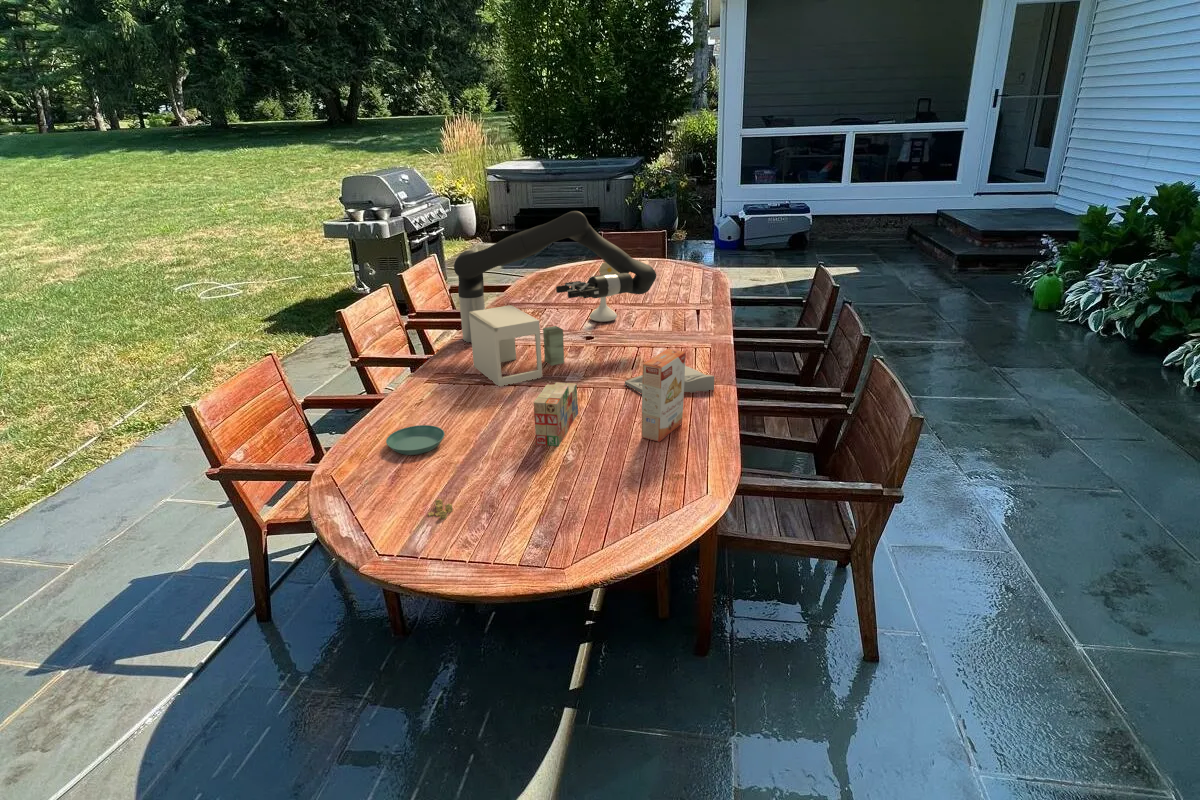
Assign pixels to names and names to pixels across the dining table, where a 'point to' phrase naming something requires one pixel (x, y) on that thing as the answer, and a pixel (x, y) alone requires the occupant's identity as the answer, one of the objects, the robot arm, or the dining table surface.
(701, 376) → the ramp
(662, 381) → the cracker box
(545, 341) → the sage block
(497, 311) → the cubby
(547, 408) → the stack of blocks
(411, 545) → the dining table surface
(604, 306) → the flower in vase
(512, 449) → the dining table surface
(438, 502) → the dice set
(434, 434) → the saucer
